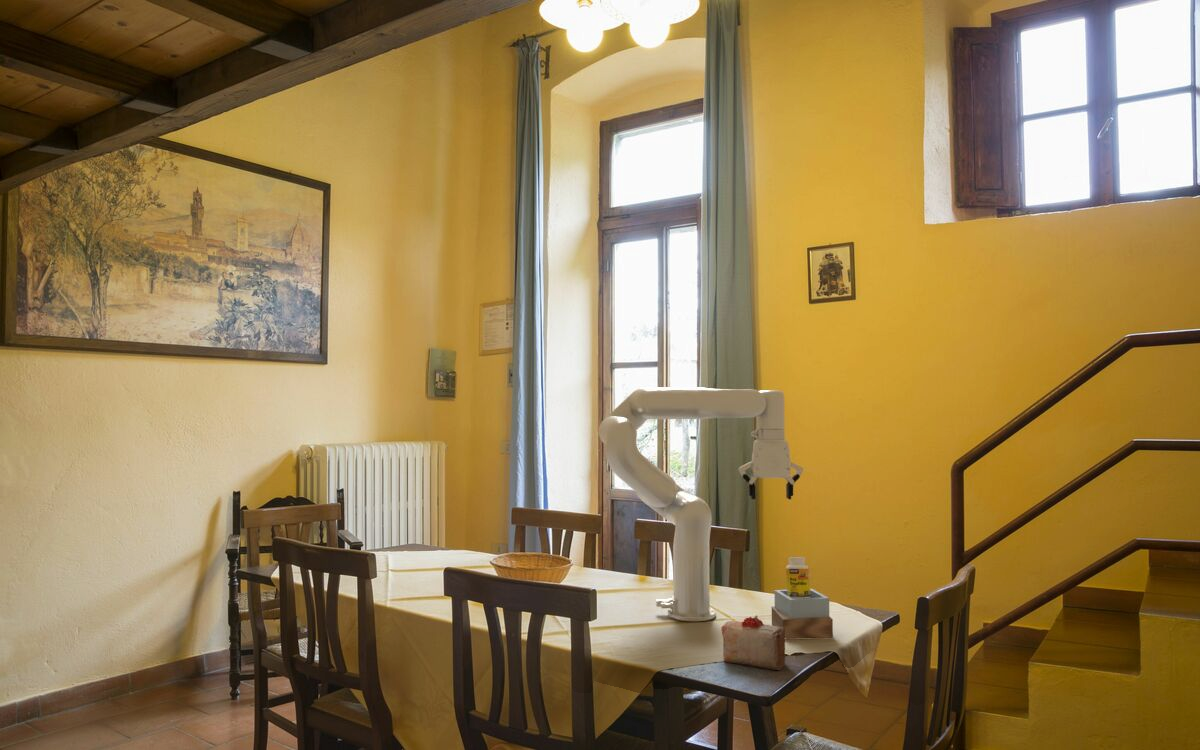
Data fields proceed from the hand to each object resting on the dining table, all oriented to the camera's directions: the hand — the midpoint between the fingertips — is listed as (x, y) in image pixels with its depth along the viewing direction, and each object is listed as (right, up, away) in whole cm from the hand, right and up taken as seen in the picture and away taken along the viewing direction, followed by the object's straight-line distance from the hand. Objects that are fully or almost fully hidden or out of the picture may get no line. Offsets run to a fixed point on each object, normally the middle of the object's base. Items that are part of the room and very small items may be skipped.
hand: (770, 498), depth 221 cm
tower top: (+3, -25, -19) cm, 32 cm away
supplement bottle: (+3, -22, -19) cm, 29 cm away
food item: (-13, -30, -43) cm, 54 cm away
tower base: (+3, -30, -20) cm, 36 cm away
